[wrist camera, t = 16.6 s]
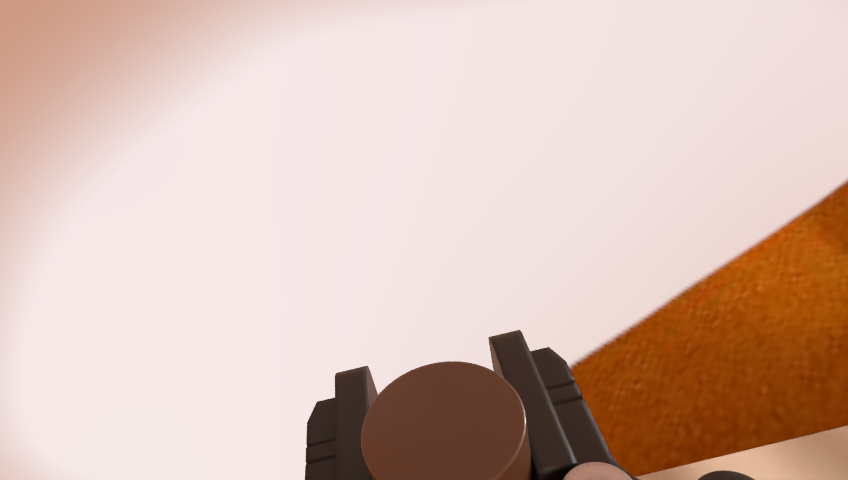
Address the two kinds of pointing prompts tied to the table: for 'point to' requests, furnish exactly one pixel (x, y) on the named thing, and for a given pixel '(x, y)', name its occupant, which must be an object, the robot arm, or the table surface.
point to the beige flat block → (776, 460)
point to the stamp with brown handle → (447, 427)
